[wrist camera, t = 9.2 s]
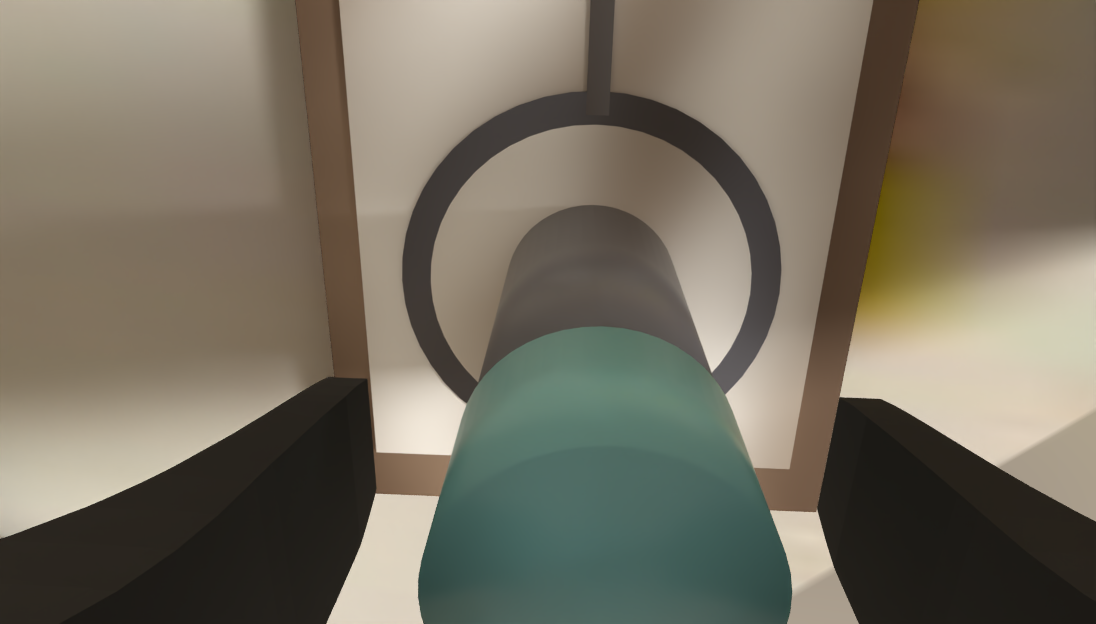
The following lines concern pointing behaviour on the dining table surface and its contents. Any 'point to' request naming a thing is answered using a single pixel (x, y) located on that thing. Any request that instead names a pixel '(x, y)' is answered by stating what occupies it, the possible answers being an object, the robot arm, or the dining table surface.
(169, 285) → the dining table surface
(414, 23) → the writing board
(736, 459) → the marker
